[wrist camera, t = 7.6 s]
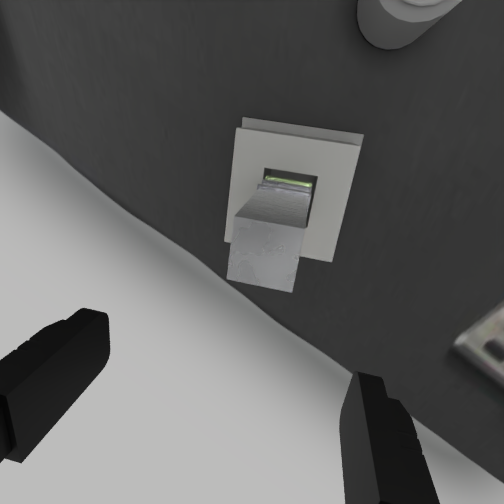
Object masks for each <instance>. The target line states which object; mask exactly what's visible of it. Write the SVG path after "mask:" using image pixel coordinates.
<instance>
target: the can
mask: <svg viewBox="0 0 504 504" xmlns="http://www.w3.org/2000/svg"><path fill="white" fill-rule="evenodd" d="M461 1H462V0H358V6H357V19H358V24H359V28H360V31H361V32H362V34H363V35H364V37H365V39H366V40H367V41H369V42H370V43H371V44H373V45H374V46H375V47H378V48H382V49H386V50H389V49H399V48H401V47H404V46H406V45H408V44H411V43H412V42H413V41H415V40H416V39H417V38H418V37H420V36H421V35H422V34H423V33H424V32H426V31H427V30H428V29H429V28H430V27H431V26H433V25H434V24H435V23H436V22H437V21H438V20H440V19H441V18H442V17H443V16H444V15H445V14H447V13H448V12H449V11H450V10H451V9H452V8H454V7H455V6H456V5H457V4H458V3H459V2H461Z"/></svg>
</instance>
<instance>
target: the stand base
mask: <svg viewBox="0 0 504 504" xmlns="http://www.w3.org/2000/svg"><path fill="white" fill-rule="evenodd" d="M363 136H364V135H363V134H356V133H349V132H342V131H335V130H328V129H321V128H315V127H308V126H301V125H294V124H287V123H280V122H273V121H266V120H259V119H253V118H246V117H243V121H242V128H236V136H235V145H234V155H233V164H232V174H231V183H230V192H229V202H228V211H227V221H226V230H225V239H224V242H230V243H231V238H232V229H233V220H234V216H235V214H236V213H237V212H238V211H239V210H240V209H241V208H242V207H243V205H244V204H245V203H246V202H247V201H248V200H249V199H250V198H251V197H252V195H253V194H254V193H255V192H256V191H257V185H258V184H262V180H263V179H265V178H266V175H271V176H277V177H283V178H289V179H296V180H302V181H308V182H312V186H311V187H312V189H311V198H310V203H309V208H308V212H307V217H306V225H305V232H304V237H303V242H302V247H301V251H300V256H302V257H307V258H312V259H317V260H323V261H328V262H332V259H333V255H334V251H335V247H336V243H337V239H338V235H339V231H340V227H341V223H342V219H343V215H344V212H345V208H346V204H347V200H348V196H349V192H350V188H351V184H352V180H353V176H354V172H355V168H356V164H357V160H358V156H359V152H360V148H361V144H362V140H363Z"/></svg>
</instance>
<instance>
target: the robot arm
mask: <svg viewBox="0 0 504 504" xmlns="http://www.w3.org/2000/svg"><path fill="white" fill-rule="evenodd" d="M109 355H110V335H109V318H108V315H107V314H106V313H104V312H100V311H96V310H91V309H87V308H82V309H80V310H78V311H77V312H75V313H74V314H73V315H72V316H70V317H69V318H68V319H67V320H60V321H58V322H55V323H53V324H51V325H49V326H46V327H44V328H43V329H42V330H40V331H39V332H38V333H36V334H35V335H33V336H32V337H31V338H30V340H29V341H25V342H24V343H23V344H21V345H20V346H19V347H18V348H17V350H13V351H12V352H11V353H9V354H8V355H7V356H5V357H4V358H3V359H1V360H0V463H1V462H2V461H3V459H4V458H5V459H9V460H12V461H16V462H19V463H22V462H23V461H24V459H26V457H27V456H28V455H29V454H30V453H31V452H32V450H33V449H34V448H35V447H36V446H37V445H38V444H39V442H40V441H41V440H42V439H43V438H44V436H45V435H46V434H47V433H48V432H49V431H50V430H51V429H52V427H53V426H54V425H55V424H56V423H57V422H58V421H59V419H60V418H61V417H62V416H63V415H64V414H65V412H66V411H67V410H68V409H69V408H70V407H71V406H72V404H73V403H74V402H75V401H76V400H77V399H78V397H79V396H80V395H81V394H82V393H83V392H84V390H85V389H86V388H87V387H88V386H89V385H90V384H91V382H92V381H93V380H94V379H95V378H96V377H97V376H98V374H99V373H100V372H101V371H102V370H103V368H104V367H105V365H106V363H107V361H108V359H109ZM339 429H340V442H341V455H342V467H343V479H344V492H345V504H440V503H439V499H438V496H437V493H436V490H435V487H434V485H433V481H432V478H431V475H430V472H429V469H428V466H427V463H426V460H425V457H424V455H422V448H421V445H420V442H419V439H417V433H416V430H415V427H414V424H413V421H412V418H411V416H410V415H409V413H408V412H407V411H406V409H405V408H404V407H403V405H402V404H401V402H400V401H399V400H396V399H392V398H388V396H387V393H386V389H385V385H384V382H383V379H382V378H381V377H378V376H374V375H370V374H365V373H361V372H357V371H355V372H354V374H353V376H352V379H351V382H350V385H349V388H348V391H347V394H346V397H345V400H344V403H343V406H342V409H341V415H340V428H339Z"/></svg>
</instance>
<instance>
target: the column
mask: <svg viewBox="0 0 504 504" xmlns="http://www.w3.org/2000/svg"><path fill="white" fill-rule="evenodd" d="M311 186H312V182H308V181H302V180H296V179H289V178H283V177H277V176H271V175H266V178H265V179H263V180H262V184H258V185H257V191H256V192H255V193H254V194H253V195H252V197H251V198H250V199H249V200H248V201H247V202H246V203H245V204H244V205H243V207H242V208H241V209H240V210H239V211H238V212H237V213H236V214H235V216H234V220H233V229H232V238H231V246H230V255H229V264H228V272H227V279H229V280H233V281H238V282H243V283H248V284H253V285H258V286H262V287H267V288H272V289H277V290H282V291H286V292H291V293H292V290H293V285H294V280H295V275H296V271H297V266H298V261H299V256H300V251H301V247H302V242H303V237H304V232H305V225H306V217H307V212H308V208H309V203H310V198H311V189H312V187H311Z"/></svg>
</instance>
